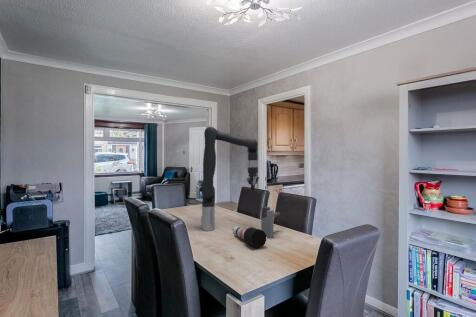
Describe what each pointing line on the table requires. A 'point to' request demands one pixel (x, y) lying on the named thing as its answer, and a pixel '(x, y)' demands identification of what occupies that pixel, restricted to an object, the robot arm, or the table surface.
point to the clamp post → (268, 224)
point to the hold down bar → (264, 212)
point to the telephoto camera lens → (251, 236)
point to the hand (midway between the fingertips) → (252, 190)
